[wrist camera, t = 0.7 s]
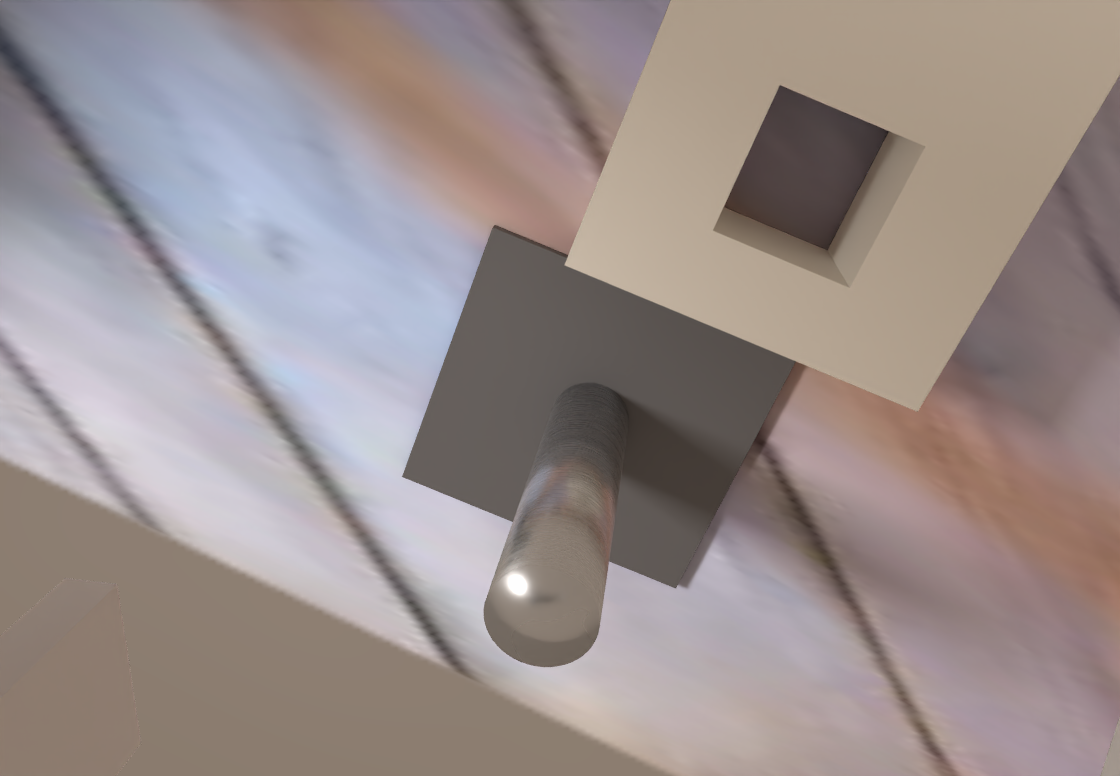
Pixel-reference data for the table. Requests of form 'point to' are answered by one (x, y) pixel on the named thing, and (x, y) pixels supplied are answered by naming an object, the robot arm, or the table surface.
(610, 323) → the mat
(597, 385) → the peg
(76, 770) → the robot arm
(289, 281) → the table surface
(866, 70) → the hole block
